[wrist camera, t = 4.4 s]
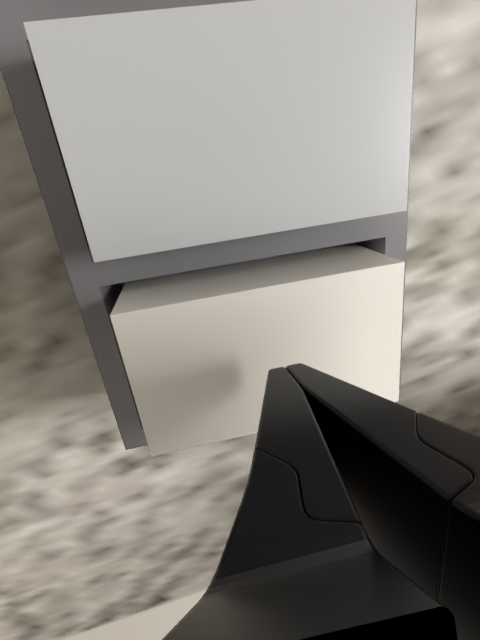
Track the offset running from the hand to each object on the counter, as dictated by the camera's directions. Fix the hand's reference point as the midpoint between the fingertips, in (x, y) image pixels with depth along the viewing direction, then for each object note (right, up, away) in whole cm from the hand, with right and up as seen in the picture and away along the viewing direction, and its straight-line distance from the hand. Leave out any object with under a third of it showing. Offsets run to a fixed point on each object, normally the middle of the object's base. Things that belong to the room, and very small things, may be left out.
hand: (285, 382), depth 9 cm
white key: (-1, +1, +4) cm, 4 cm away
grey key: (-2, +7, +1) cm, 7 cm away
